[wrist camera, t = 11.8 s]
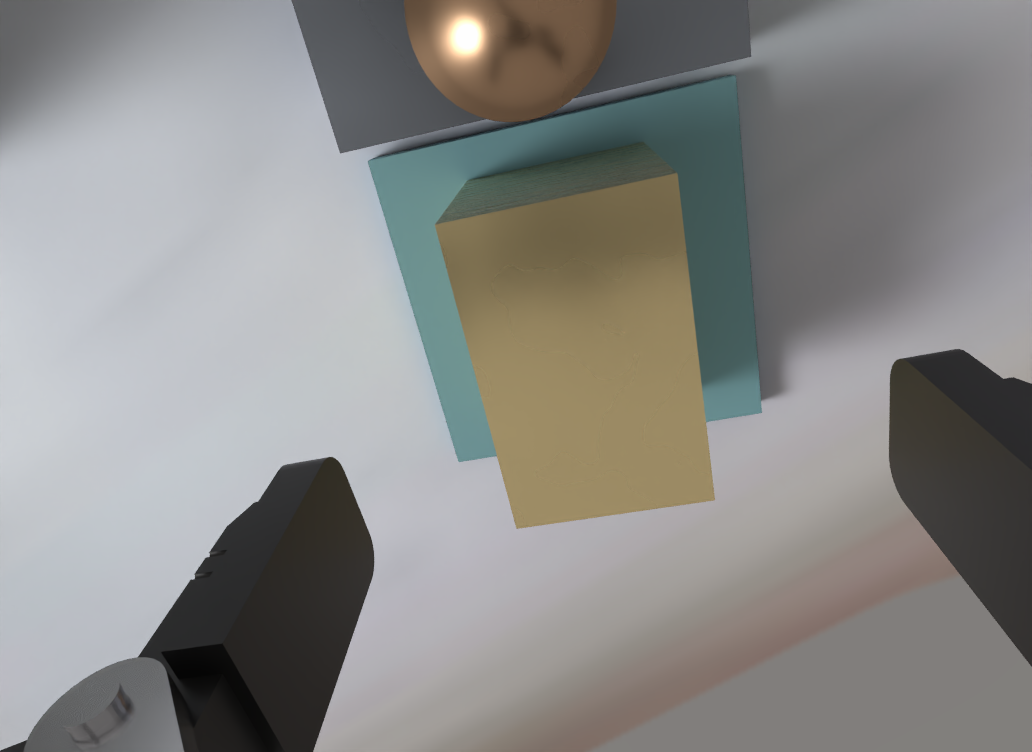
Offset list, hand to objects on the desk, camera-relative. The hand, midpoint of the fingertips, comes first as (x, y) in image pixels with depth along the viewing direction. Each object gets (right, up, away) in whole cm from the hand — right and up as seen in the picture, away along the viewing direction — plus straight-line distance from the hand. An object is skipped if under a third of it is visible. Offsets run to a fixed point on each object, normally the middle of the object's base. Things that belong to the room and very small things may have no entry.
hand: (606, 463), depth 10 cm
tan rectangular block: (0, +3, +8) cm, 9 cm away
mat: (0, +4, +9) cm, 9 cm away
